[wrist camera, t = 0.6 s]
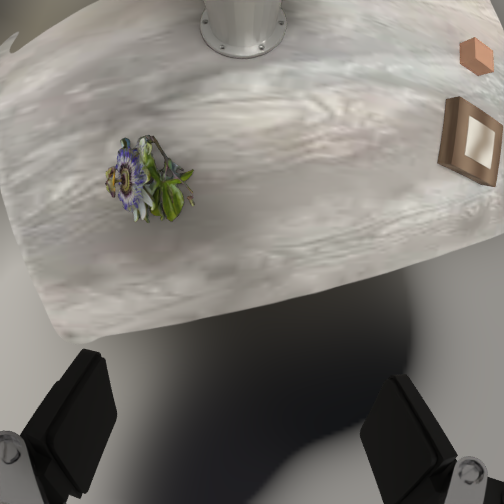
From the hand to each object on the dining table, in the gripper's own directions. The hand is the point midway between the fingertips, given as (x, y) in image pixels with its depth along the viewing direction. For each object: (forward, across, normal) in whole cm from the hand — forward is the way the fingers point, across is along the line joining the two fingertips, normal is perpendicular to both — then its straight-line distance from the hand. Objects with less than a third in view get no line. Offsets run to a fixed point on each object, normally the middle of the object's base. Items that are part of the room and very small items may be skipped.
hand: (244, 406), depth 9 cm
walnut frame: (+36, -37, -18) cm, 55 cm away
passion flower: (+36, +13, -4) cm, 39 cm away
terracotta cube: (+36, -38, -36) cm, 64 cm away
